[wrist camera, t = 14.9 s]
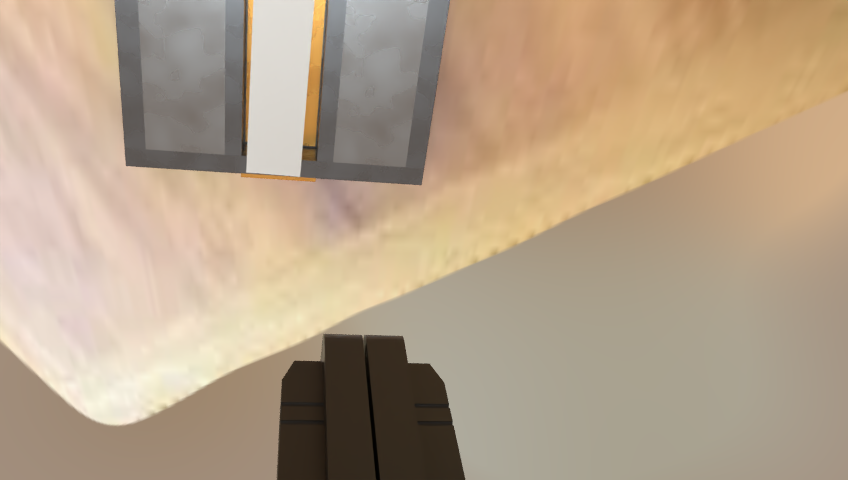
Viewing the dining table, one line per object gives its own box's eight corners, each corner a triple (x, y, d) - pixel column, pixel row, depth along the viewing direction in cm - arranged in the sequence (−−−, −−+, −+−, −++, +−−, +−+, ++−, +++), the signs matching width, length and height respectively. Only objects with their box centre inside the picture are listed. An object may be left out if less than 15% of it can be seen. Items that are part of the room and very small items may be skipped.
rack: (449, -56, 44) (456, -46, 42) (416, 171, 52) (420, 189, 50) (118, -96, 41) (108, -89, 39) (134, 152, 49) (126, 170, 46)
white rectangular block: (313, -28, 44) (314, 0, 39) (301, 133, 49) (300, 176, 44) (260, -35, 43) (253, -8, 38) (252, 129, 48) (246, 172, 43)
